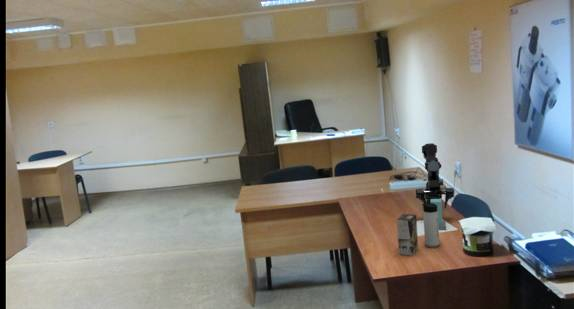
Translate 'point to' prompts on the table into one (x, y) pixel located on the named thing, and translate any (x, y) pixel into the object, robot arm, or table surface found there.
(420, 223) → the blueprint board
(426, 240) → the travel mug
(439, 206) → the teal pillar block
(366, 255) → the table surface
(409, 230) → the coffee box
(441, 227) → the snap base
